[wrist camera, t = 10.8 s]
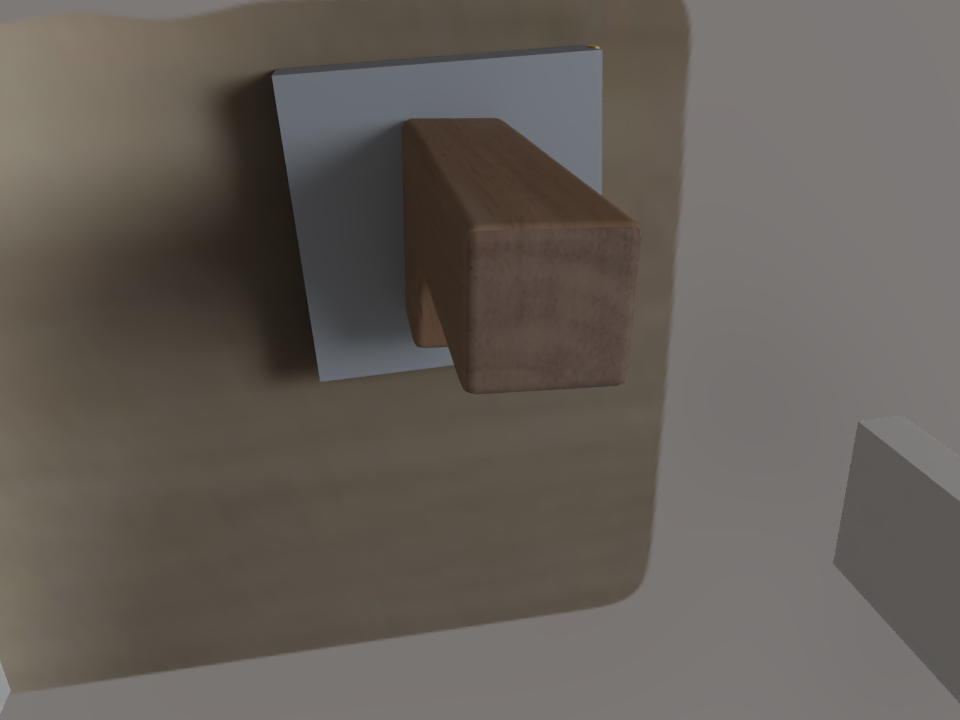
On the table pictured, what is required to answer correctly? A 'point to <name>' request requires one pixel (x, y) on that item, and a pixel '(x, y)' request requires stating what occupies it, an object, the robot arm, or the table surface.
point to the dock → (379, 176)
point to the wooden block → (513, 261)
